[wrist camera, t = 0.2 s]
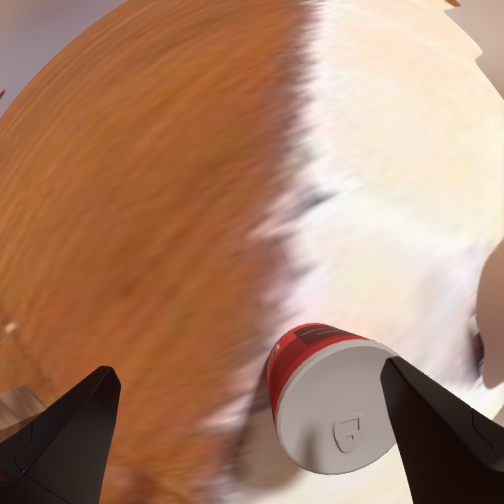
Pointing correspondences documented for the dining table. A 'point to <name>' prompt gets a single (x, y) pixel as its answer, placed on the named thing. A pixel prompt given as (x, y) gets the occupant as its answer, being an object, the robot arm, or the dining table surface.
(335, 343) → the canned food
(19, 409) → the tall brown block
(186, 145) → the dining table surface
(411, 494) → the robot arm
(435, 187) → the dining table surface
